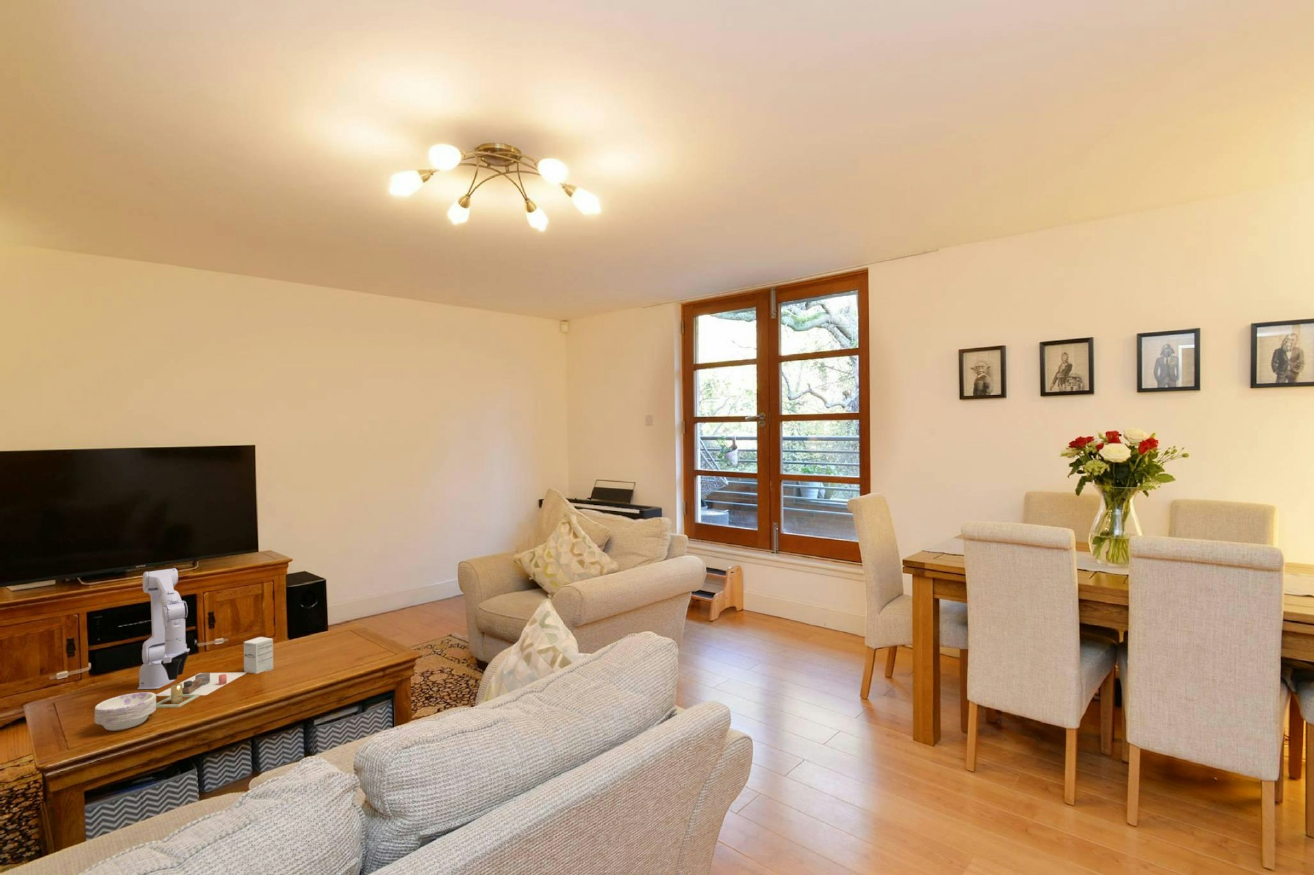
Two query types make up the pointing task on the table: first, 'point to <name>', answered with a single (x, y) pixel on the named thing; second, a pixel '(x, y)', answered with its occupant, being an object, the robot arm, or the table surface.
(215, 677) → the board
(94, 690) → the table surface
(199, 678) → the crank
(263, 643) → the supplement box
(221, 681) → the post
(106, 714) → the paper bowls
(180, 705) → the tray
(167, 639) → the robot arm
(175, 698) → the pin
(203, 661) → the table surface
